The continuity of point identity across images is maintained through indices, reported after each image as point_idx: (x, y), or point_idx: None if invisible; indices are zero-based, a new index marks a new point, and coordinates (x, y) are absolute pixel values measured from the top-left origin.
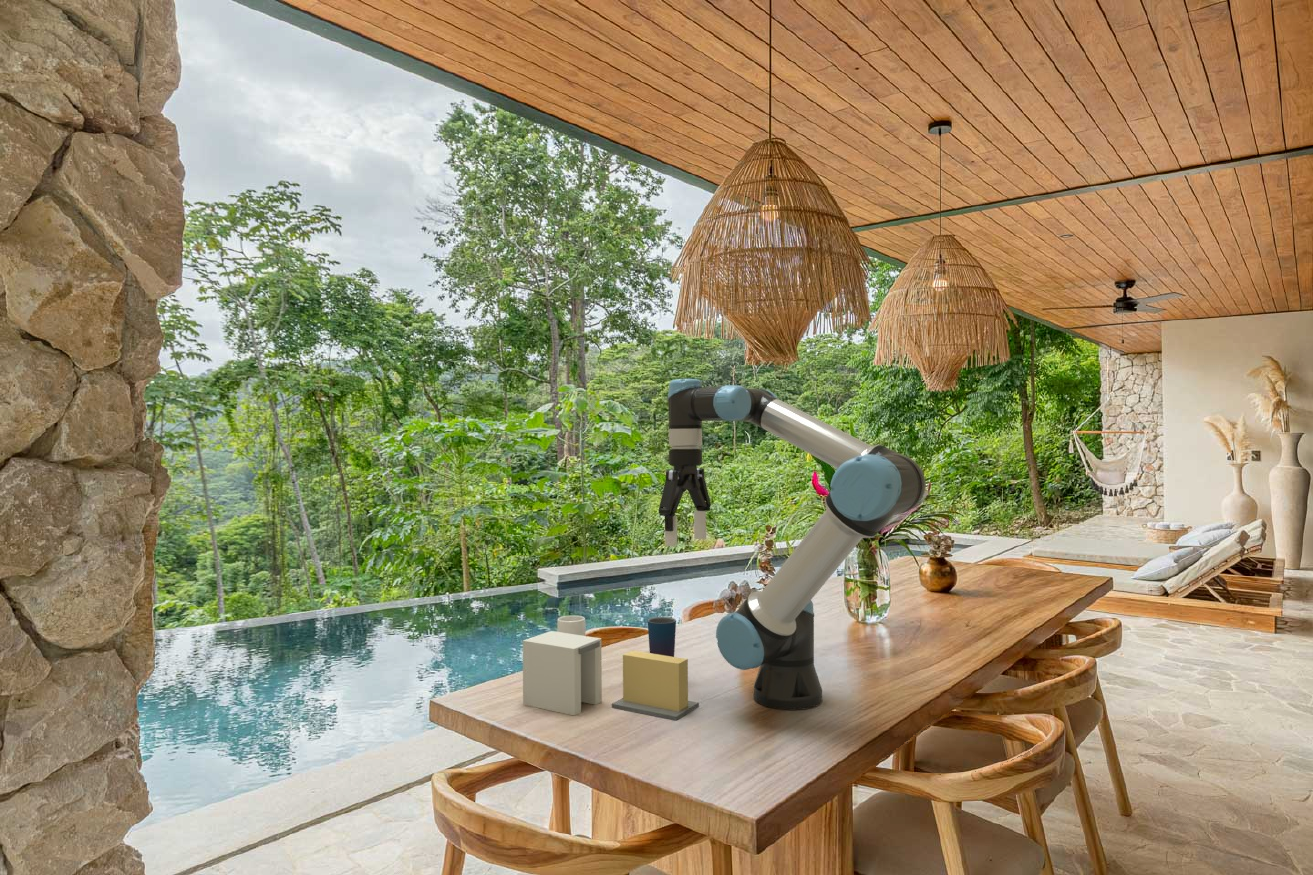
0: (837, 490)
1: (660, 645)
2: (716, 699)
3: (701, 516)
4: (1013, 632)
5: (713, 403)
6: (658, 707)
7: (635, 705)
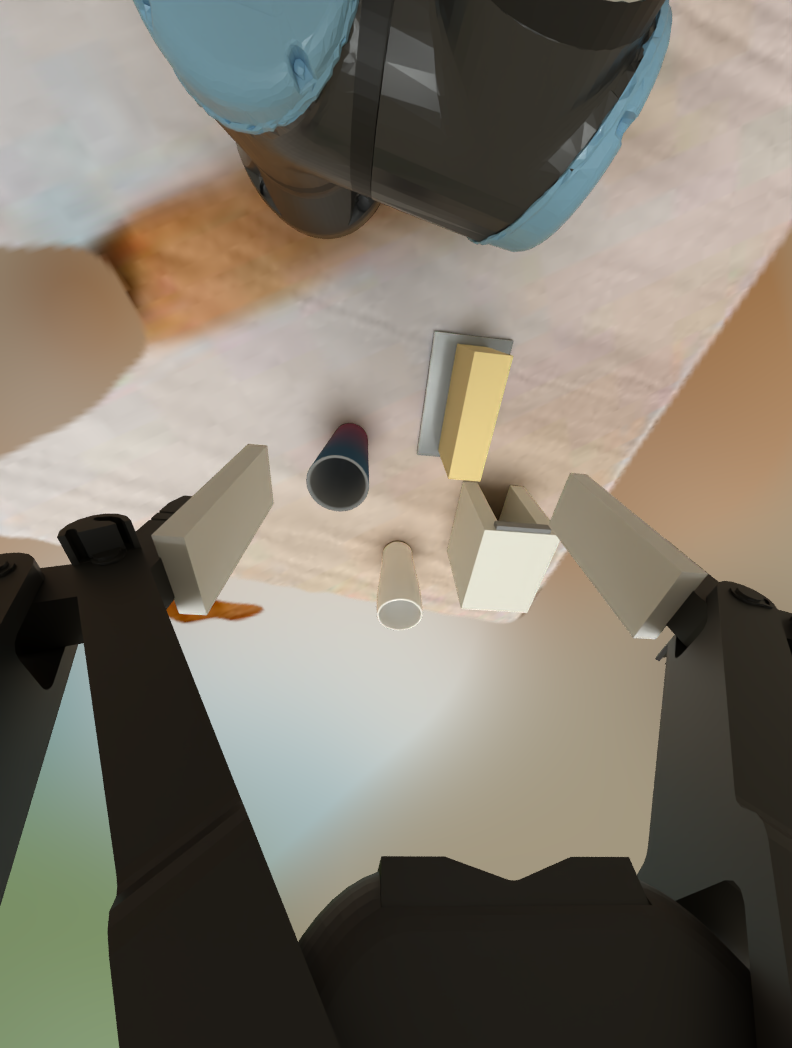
0: None
1: (366, 458)
2: (388, 312)
3: (213, 533)
4: None
5: None
6: None
7: None
